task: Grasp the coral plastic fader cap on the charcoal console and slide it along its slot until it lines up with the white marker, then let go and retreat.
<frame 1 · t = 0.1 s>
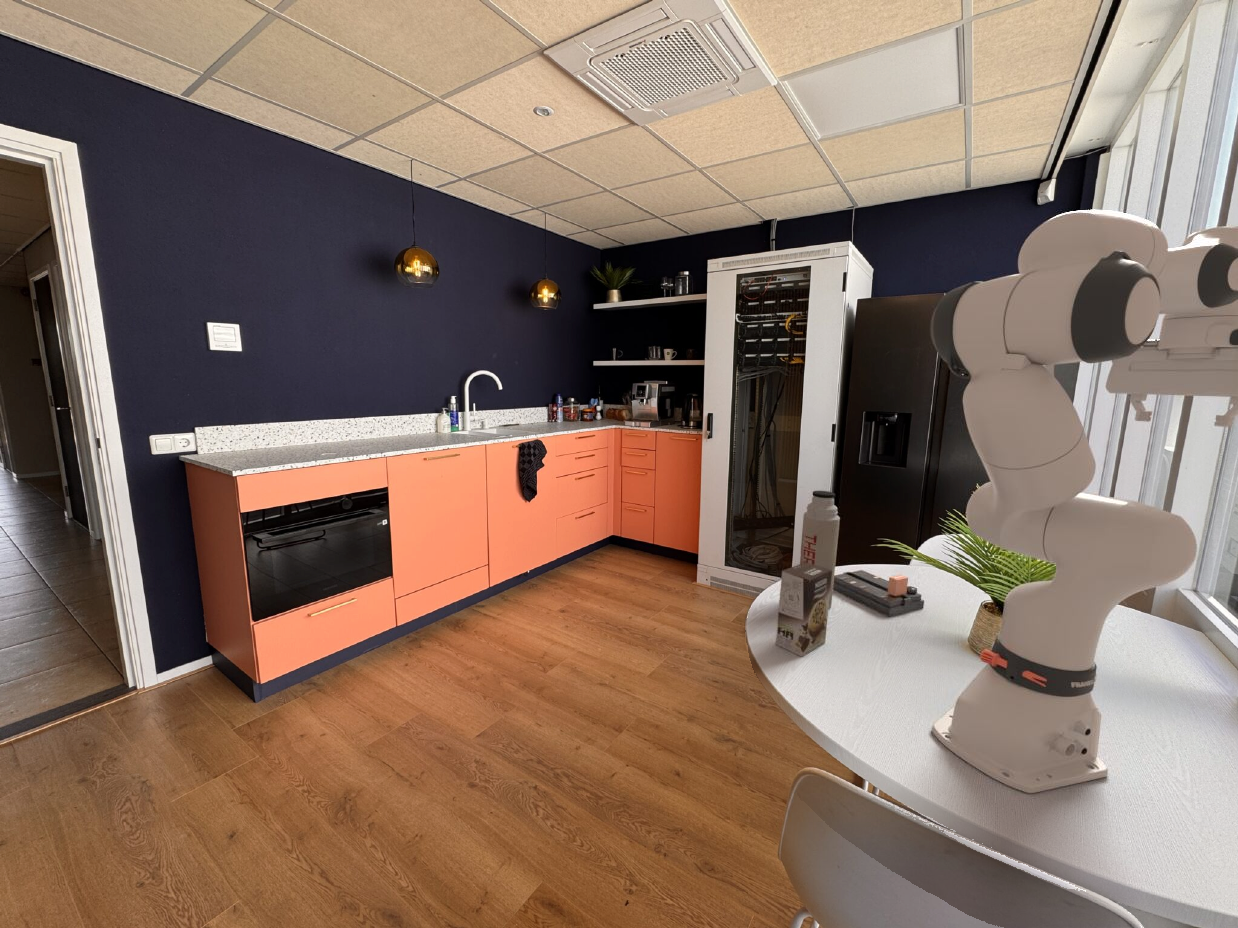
hand: (1180, 423, 84), 48 cm above the table, fingers open, 8 cm apart
coffee box: (800, 644, 105), on the table
console: (873, 597, 128), on the table
thermos bottle: (813, 604, 124), on the table
fader: (897, 588, 122), point 5 cm above the table, slide at 0.0 cm
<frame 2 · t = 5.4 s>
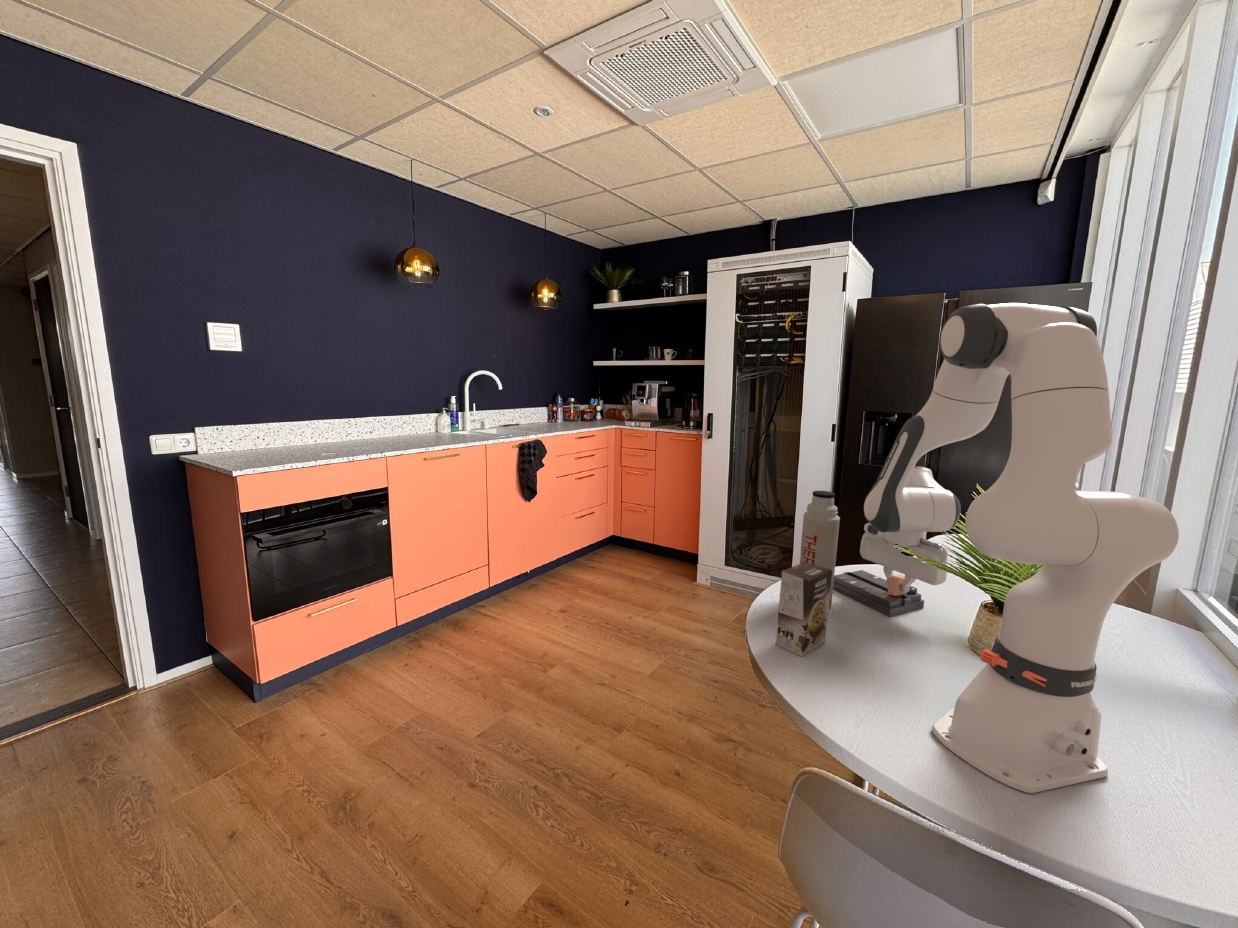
hand: (897, 588, 122), 5 cm above the table, fingers closed on fader, 2 cm apart
fader: (897, 588, 122), point 5 cm above the table, slide at 0.0 cm, touching gripper
everything else where it was.
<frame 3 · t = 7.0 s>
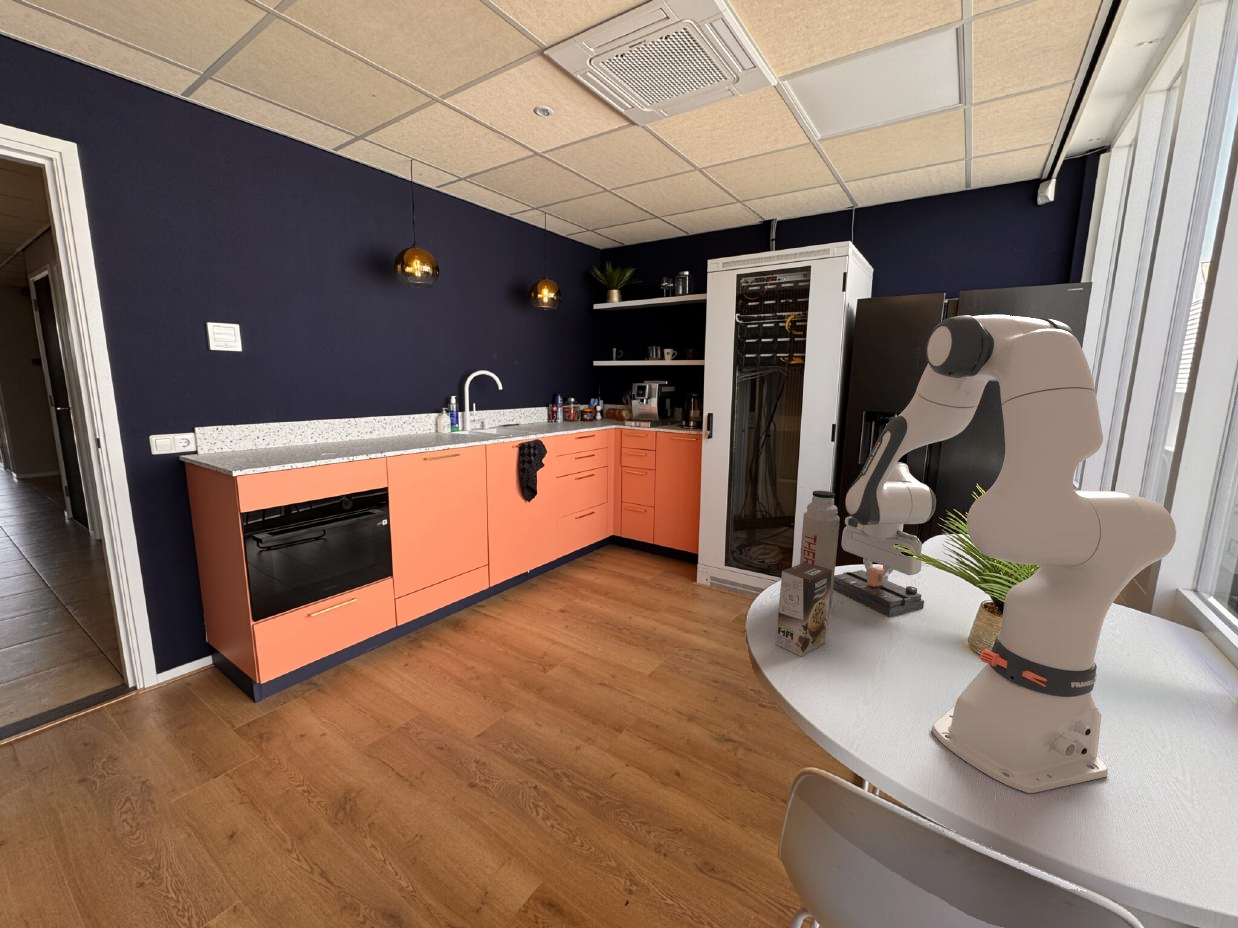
hand: (876, 578, 127), 5 cm above the table, fingers closed on fader, 2 cm apart
fader: (876, 579, 127), point 5 cm above the table, slide at 5.9 cm, touching gripper
everything else where it was.
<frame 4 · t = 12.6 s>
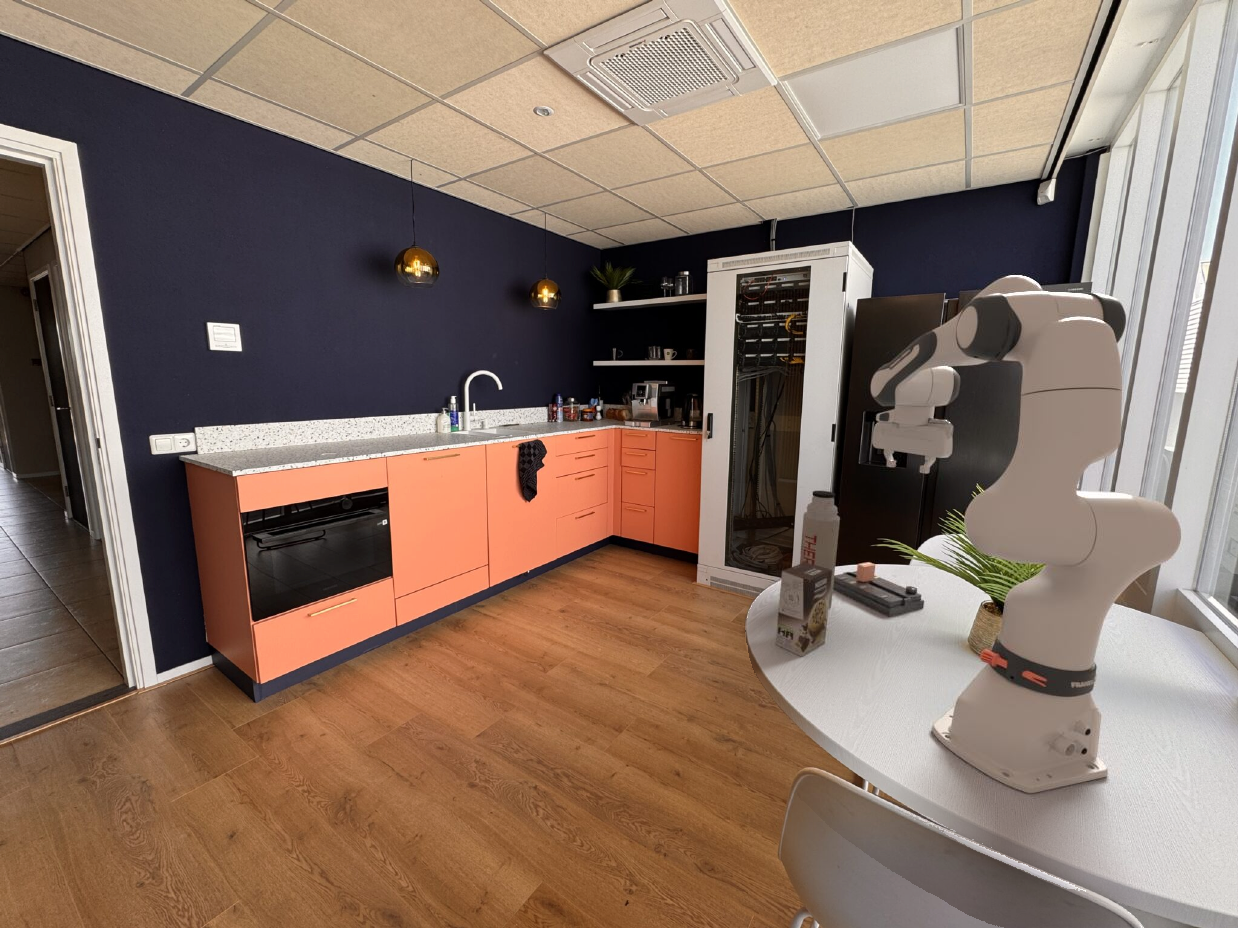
hand: (907, 469, 133), 31 cm above the table, fingers open, 8 cm apart
fader: (865, 574, 130), point 5 cm above the table, slide at 9.0 cm
everything else where it was.
at the end: fader slide at 9.0 cm; the gripper is holding nothing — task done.
